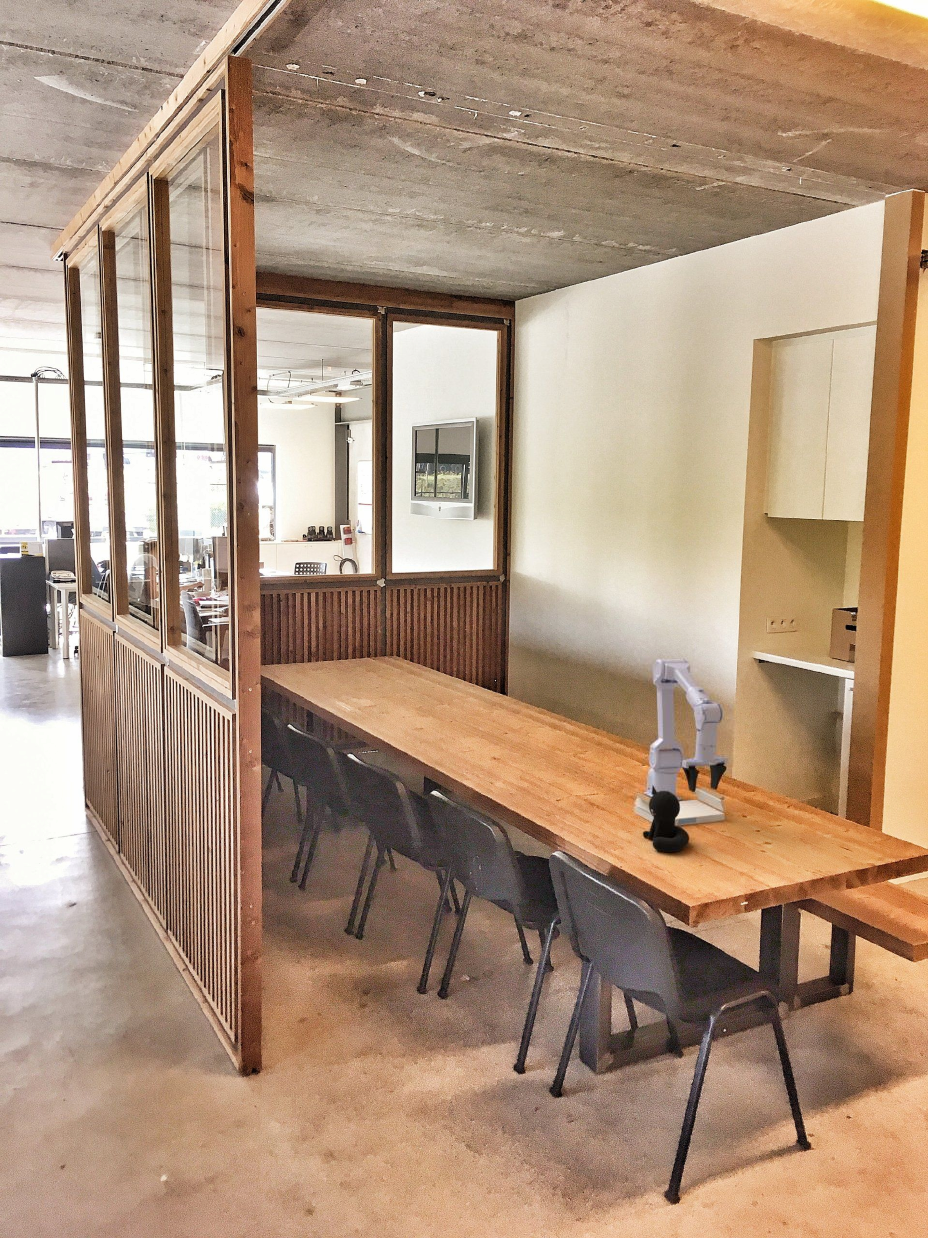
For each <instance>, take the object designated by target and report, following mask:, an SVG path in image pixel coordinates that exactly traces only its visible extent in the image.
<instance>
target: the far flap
mask: <svg viewBox="0 0 928 1238" xmlns="http://www.w3.org/2000/svg"><path fill="white" fill-rule="evenodd" d="M694 793H695V795H696V798H697V799H696V800H698V801H700V802H702V803H704V804H705V803H706V805H708V806H710V807H712V808H714V809H716V810H717V809H718V811H720V812H722V813H724V812H726V810H725V806H724V802H723V801H724V800H725V796H724V795H723V794H721V793H718V792H716V791H713V790H712V789H711V788H710V789H709V788H707V787H705V786H702V787H701V788H697V787H696V790H695V792H694Z"/></svg>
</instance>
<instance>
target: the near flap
mask: <svg viewBox="0 0 928 1238" xmlns="http://www.w3.org/2000/svg"><path fill="white" fill-rule="evenodd" d="M635 797H636V799H635V802H634V806H639V807H640V808H642V809H644V810H646V811H648V812H649V813H651V812H650V810H649V801H650V799H651V798H649V797H648V796H646V795H645V794H644V795H643V794H642V793H638V792H636V794H635Z"/></svg>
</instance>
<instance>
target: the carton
mask: <svg viewBox="0 0 928 1238" xmlns="http://www.w3.org/2000/svg"><path fill="white" fill-rule="evenodd" d="M679 803H680V812H679V814H678V816H677V817H676V818H675V826H686V825H694V824H695V825H696V824H703V823H713V822H721V821H725V813H724V812H723V811H721V810H719V809H718V810H717V808H715V807H713V806H711V805H709V804H707V803H706V804H705V802H703V801H701V800H699V799H693V800H692V799H690V800H689V799H688V800H679ZM633 811H634V813H635V814H637V815H638V816H640V817H642V818H644V819H645V820H647V821H648V822H650V823H652V821H653V819H654V817H653V816H652V814H651V813H649V812H648V811H646V810H644V809H642V808H640V807H639V806H637V805H634V810H633Z"/></svg>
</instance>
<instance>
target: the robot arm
mask: <svg viewBox="0 0 928 1238" xmlns="http://www.w3.org/2000/svg"><path fill="white" fill-rule="evenodd" d="M652 679H653V685H654V686H656V699H657V700H656V702H657V703H656V704H657V706H656V709H657V710H656V711H657V736H658V737H657V739H656V740H655V741H654V742H652V743H651V745H650V746H649V754H648V764H649V766H650V769H649V770H648V772H647V779H646V780H647V781H646V791H644V795H645V796H647V797H650V798H651V797H652V796H653V795H652V786H654V788H655V790H656V791H657V792H659V791H669V792H671V793H672V794H674V795H675V796H676V797H677V799H678V800H679V801H682V797H680V796H677V787H678V786H677V785H678V783H677V781H678V772H680V769H682V770H683V772H684V774H685V778H686V781H687V785H688V791H690V792H691V793H696V792H695V790H696V788H697V780H698V777H699V773H700V770H698V769H697V767H708V766H709V769H710V770H709V771H710V789H711V790H712V789H713V790H715V791H716V790H717V789H718V787H719V783H720V781H721V780H722V777H723V775H724V773H725V772H726V771H727V766H728V761H729V760H728V759H729V758H728V757H726V756H716V754H717V742H718V727H719V724H720V723H721V722H722V720H723V716H724V713H723V708H722V706H721V704H720V703H719V702H715V701H712V699H711V698H710V696H709V695H708V694H707V692H706V691H705V689H704V688H703V687H701V686H698V685H697V684H696V682H695V680H694V679H693V677H692V675H691V664H690V663H689V662H688V659H686V658H680V659H678V658H676V659H675V658H674V659H673V658H672V659H671V658H670V659H668V658H667V659H661V658H659V659H658V658H657V659H656V660H655V662H654V664H653V665H652ZM679 685H680V687H681V688H682V689H683V690H684V691H685V694H686V695H685V698H686V701H687V702H688V703H689V705H690V706H691V708H692V709H693V711H694V712H693V714H694V715H693V716H694V720H695V721H694V722H695V728H696V737H695V738H696V739H695V753H694V754H695V755H694V757H691V758H687V759H685V754H684V752H683V746H682V744H681V743H680V742H679V741H677V740H676V734H675V728H676V727H675V708H674V707H675V705H674V704H675V702H674V701H675V700H674V699H675V698H674V689H675V687H676V686H679ZM726 765H727V766H726Z"/></svg>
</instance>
